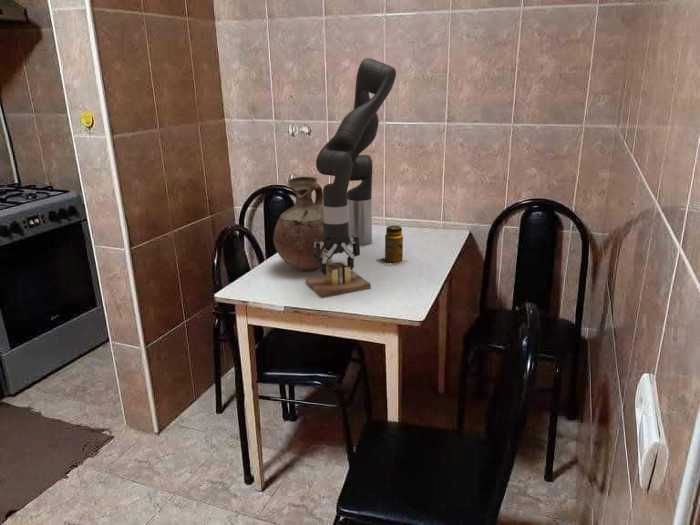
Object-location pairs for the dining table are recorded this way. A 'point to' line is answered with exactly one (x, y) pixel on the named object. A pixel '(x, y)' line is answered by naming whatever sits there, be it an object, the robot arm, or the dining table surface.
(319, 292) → the keyed stand
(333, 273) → the collar
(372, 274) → the dining table surface
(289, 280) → the dining table surface
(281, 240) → the jug
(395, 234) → the condiment
